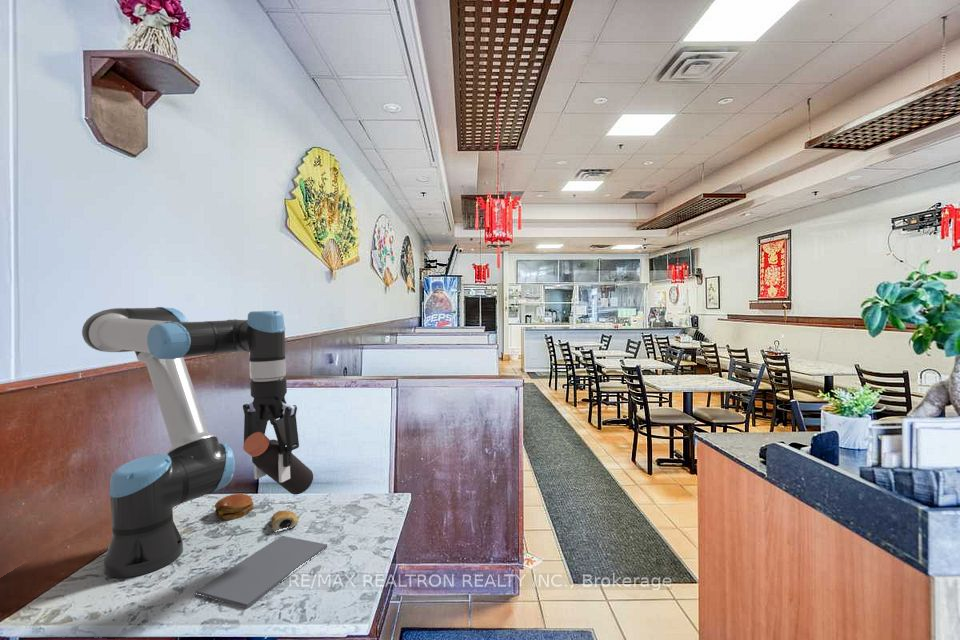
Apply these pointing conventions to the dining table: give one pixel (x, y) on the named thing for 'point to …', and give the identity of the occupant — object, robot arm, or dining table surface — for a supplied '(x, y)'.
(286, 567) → the mat
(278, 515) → the pastry
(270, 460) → the vinegar
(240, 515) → the burger
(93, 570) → the dining table surface
